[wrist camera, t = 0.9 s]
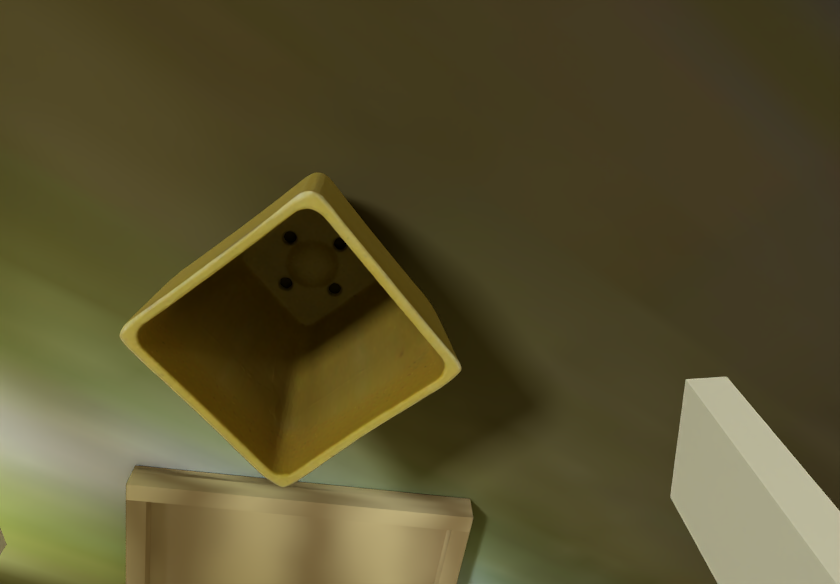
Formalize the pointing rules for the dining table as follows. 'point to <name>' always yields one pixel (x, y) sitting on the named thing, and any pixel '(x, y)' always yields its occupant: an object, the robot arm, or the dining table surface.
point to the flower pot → (295, 334)
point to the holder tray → (287, 532)
